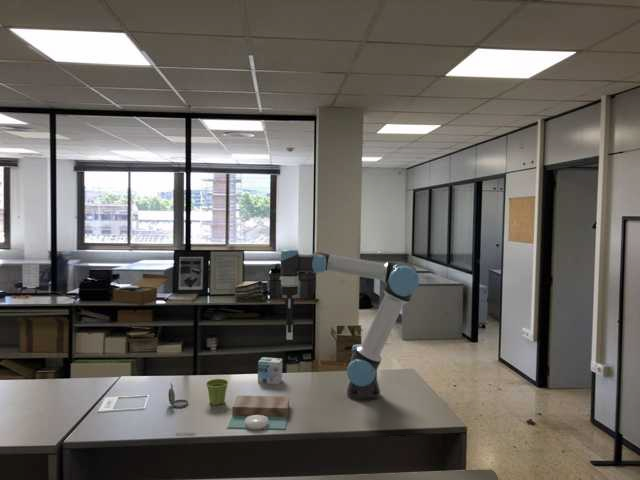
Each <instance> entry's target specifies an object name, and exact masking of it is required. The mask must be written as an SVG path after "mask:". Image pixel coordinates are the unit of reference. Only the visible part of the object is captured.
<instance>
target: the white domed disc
mask: <svg viewBox="0 0 640 480" xmlns="http://www.w3.org/2000/svg"><path fill="white" fill-rule="evenodd" d="M268 420H269V419H268V418H267V417H266V416H263V415H252V416H249V417H247V418H246V419H245V426H246V427H247V428H249V430H264V429H263V428H265V427H267V426H268Z"/></svg>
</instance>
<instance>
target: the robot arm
mask: <svg viewBox="0 0 640 480" xmlns="http://www.w3.org/2000/svg"><path fill="white" fill-rule="evenodd" d="M280 254H281V255H280V277H279V278H278V279H279V281H280V285H281V286H280V294H281V295H282V296H286V297H285V298H284V304H285V310H286V322H285V323H284V325H285V327H286V328H285V329H286V332H285V333H286V335H285V337H286V338H285V339H286V340H288V341H289V340H290V341H291V340H293V339H294V338H293V336H294V335H293V333H294V332H293V330H294V328H293V327H294V326H293V324H295V321H294V320H293V309H294V304H295V298H294V297H293V296H296V295H298V294H299V273H315V274H319V273H324V272H326V271H329V272H333V273H339V274H344V275H349V276H356V277H361V278H366V279H367V278H368V279H373V280H378V281H382V282H383V283H384V284H385V285H384V287H383V293H384V296H383V299H382V301H381V303H380V305H379V307H378V309H377V312H376V314H375V316H374V318H373V320H372V322H371V325H370V327H369V329H368V331H367V333H366V335H365V338H364V339H363V342H362V343H357V344H353V345H352V347H351V358H350V361H349V363H348V365H347V368H346V375H347V378H348V379H349V382H348V385H347V389H346V396H347V397H348V398H349V399H352V400H354V401H359V402H373V401H376V400H379V399H380V398H381V388H380V385H379V382H378V368H379V367H380V364H381V362H382V360H383V358H382V356H381V353H382V351H383V350H384V347H385V345H386V343H387V340H388V338H389V336H390V334H391V333H392V331H393V328H394V326H395V324H396V321H397V320H398V318H399V316H400V314H401V311H402V308H403V307H404V306H405V304H408V303H410V301H411V299H412V296H413V295H414V293H415V292H416V290H417V289H418V287H419V283H420V281H419V280H420V278H419V275H418V271H417V269H416V268H415V267H414V266H413V265H412V264H409V263H406V262H392V261H387V262H384V263H383V262H378V261H372V260H366V259H360V258H354V257H348V256H342V255H335V254H328V253H324V252H322V251H315V252H313V253H311V254H301V253H300V254H299V250H297V249H283V250H281V252H280Z"/></svg>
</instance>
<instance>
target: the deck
mask: <svg viewBox="0 0 640 480" xmlns="http://www.w3.org/2000/svg"><path fill="white" fill-rule="evenodd" d="M289 409H290V396H279V395H277V396H274V395H273V396H271V395H239V394H238V395H236V398H235V399H234V401H233V405H232V410H231V411H232V413H231V417H232V416H252V415H263V416H268V417H287V418H288V415H289Z"/></svg>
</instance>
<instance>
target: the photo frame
mask: <svg viewBox="0 0 640 480" xmlns="http://www.w3.org/2000/svg"><path fill="white" fill-rule="evenodd" d="M145 397H146V398H145ZM129 398H131V399H132V398H145V402H144V406H143V407H131V408H117V409H115V406H116V405H117V402H118V400H119V399H129ZM149 398H150V394H142V395H140V394H139V395H138V394H137V395H125V396H123V395H122V396H108V397H104V399H103V401H102V403H101V405H100V407H99V409H98V410H97V413H111V412H124V411H125V412H126V411H139V410H140V411H141V410H142V411H143V410H146V409H147V405H148V401H149Z"/></svg>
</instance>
